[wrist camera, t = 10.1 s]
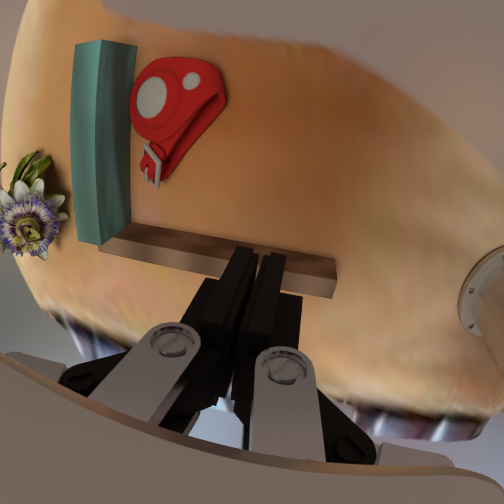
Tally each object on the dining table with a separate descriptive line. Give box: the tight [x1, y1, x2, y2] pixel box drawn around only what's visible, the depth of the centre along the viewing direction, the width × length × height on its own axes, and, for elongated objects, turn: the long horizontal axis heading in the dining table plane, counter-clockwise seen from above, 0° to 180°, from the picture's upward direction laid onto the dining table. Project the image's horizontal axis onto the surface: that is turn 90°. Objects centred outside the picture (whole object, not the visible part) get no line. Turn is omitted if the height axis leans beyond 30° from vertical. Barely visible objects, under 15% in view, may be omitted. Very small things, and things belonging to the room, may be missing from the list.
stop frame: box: [70, 39, 337, 299], centre depth 25 cm, size 25×21×6 cm
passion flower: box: [0, 151, 69, 260], centre depth 30 cm, size 11×11×12 cm
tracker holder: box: [129, 57, 226, 189], centre depth 25 cm, size 12×4×10 cm
